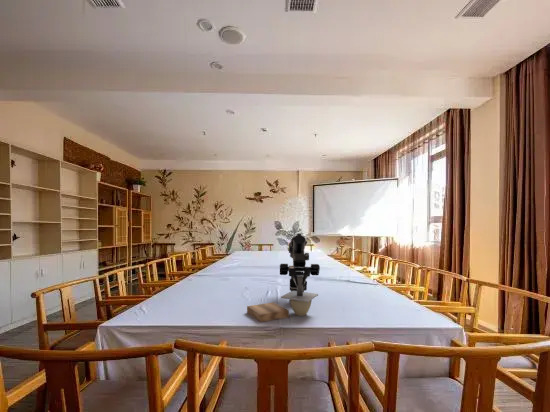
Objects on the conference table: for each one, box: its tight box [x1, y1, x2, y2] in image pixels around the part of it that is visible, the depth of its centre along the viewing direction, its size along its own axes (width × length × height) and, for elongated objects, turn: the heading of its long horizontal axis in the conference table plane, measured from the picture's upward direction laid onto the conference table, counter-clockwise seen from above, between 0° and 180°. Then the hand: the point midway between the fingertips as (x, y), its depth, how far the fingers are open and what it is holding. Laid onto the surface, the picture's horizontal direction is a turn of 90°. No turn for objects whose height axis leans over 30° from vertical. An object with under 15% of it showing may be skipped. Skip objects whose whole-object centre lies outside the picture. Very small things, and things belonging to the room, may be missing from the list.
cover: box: [280, 277, 319, 302], centre depth 132 cm, size 13×13×9 cm
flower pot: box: [289, 299, 313, 317], centre depth 132 cm, size 10×10×7 cm
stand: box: [246, 302, 290, 323], centre depth 130 cm, size 14×14×3 cm
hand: (300, 284), depth 131 cm, fingers closed on cover, 3 cm apart
